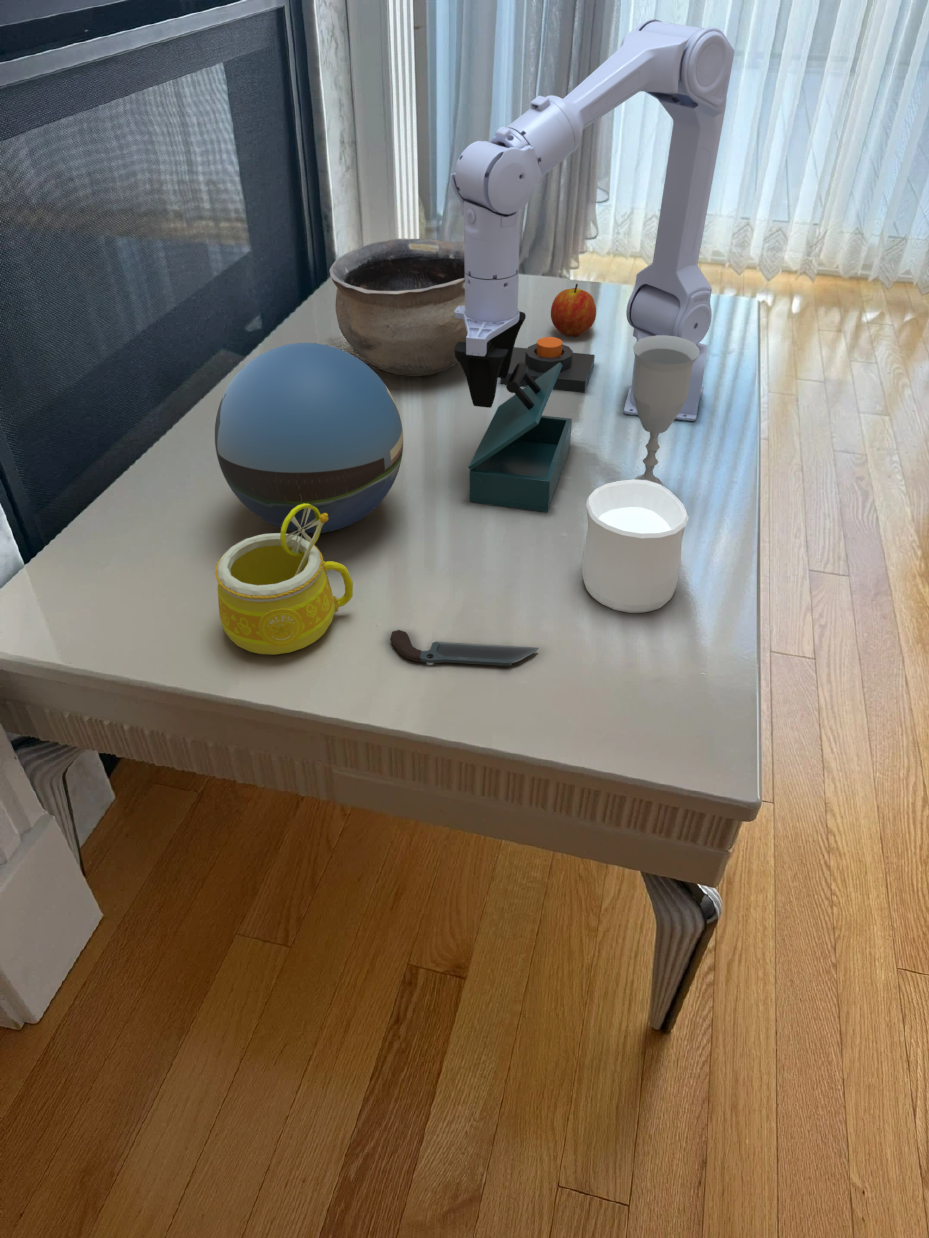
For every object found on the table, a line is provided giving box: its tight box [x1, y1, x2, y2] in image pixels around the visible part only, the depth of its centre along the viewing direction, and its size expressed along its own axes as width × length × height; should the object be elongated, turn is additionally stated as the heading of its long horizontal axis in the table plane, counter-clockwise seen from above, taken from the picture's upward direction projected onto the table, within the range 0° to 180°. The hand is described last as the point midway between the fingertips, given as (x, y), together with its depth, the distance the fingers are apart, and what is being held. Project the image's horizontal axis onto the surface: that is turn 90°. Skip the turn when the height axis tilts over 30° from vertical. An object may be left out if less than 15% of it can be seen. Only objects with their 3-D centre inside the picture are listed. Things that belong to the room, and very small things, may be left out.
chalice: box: [632, 335, 700, 487], centre depth 98 cm, size 7×7×18 cm
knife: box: [389, 629, 540, 667], centre depth 84 cm, size 14×4×1 cm, turn 84°
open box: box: [468, 414, 573, 513], centre depth 107 cm, size 9×15×4 cm, turn 165°
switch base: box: [500, 342, 596, 393], centre depth 129 cm, size 12×9×4 cm
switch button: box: [536, 336, 563, 358], centre depth 127 cm, size 4×4×2 cm
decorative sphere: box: [214, 342, 404, 534], centre depth 95 cm, size 20×20×20 cm
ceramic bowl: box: [329, 238, 467, 377], centre depth 128 cm, size 22×22×15 cm
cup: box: [581, 478, 690, 614], centre depth 89 cm, size 10×10×10 cm
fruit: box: [550, 283, 597, 338], centre depth 138 cm, size 7×7×8 cm
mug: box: [214, 503, 354, 655], centre depth 84 cm, size 13×11×12 cm
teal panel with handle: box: [467, 363, 562, 471], centre depth 103 cm, size 10×15×4 cm
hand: (490, 390), depth 103 cm, fingers open, 7 cm apart
